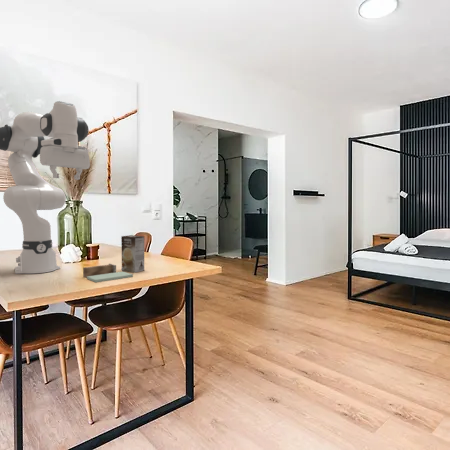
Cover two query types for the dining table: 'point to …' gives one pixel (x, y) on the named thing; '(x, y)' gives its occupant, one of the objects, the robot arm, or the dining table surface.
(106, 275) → the mat
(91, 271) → the brown wooden block
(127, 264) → the coffee box
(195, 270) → the dining table surface
